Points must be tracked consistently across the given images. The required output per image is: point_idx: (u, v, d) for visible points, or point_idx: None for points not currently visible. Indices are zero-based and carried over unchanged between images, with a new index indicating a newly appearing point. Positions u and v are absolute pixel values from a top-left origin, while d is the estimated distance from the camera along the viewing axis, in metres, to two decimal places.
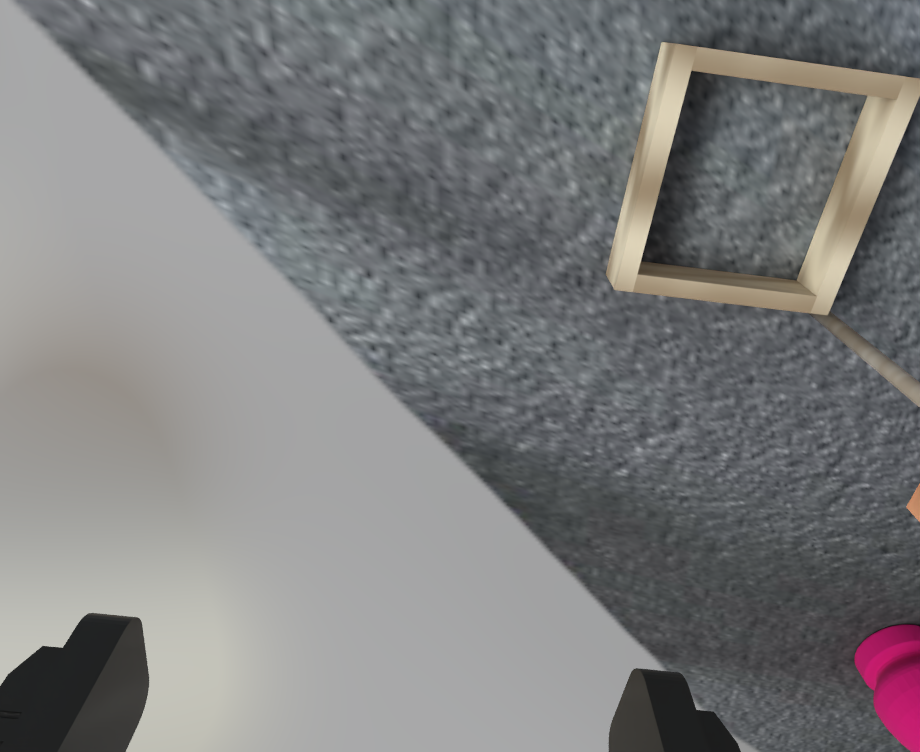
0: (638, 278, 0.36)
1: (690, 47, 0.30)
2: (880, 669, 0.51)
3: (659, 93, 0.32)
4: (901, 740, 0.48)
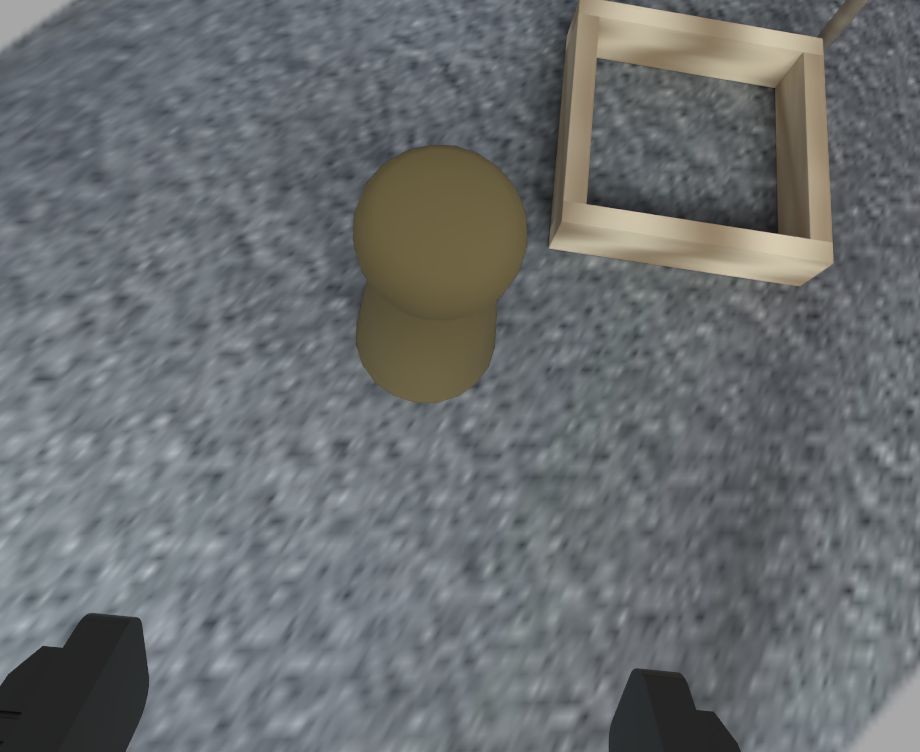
0: (814, 236, 0.29)
1: (564, 207, 0.28)
2: None
3: (606, 237, 0.29)
4: None
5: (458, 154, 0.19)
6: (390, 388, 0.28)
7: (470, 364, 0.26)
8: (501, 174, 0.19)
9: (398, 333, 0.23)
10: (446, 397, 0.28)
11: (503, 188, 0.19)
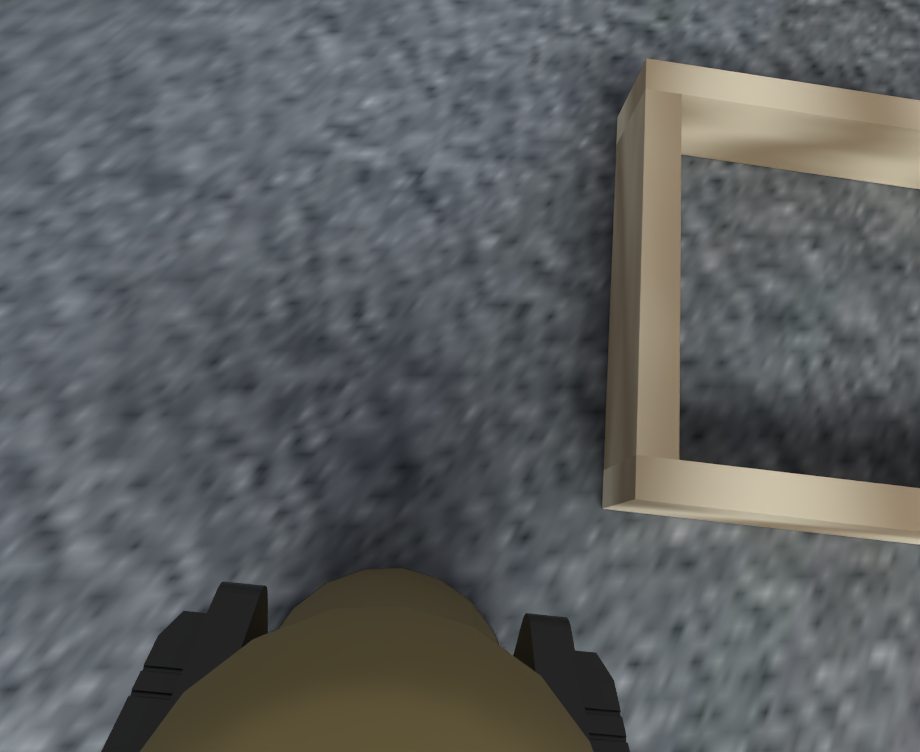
0: None
1: (639, 468, 0.15)
2: None
3: (714, 512, 0.16)
4: None
5: (411, 722, 0.06)
6: None
7: None
8: None
9: None
10: None
11: None
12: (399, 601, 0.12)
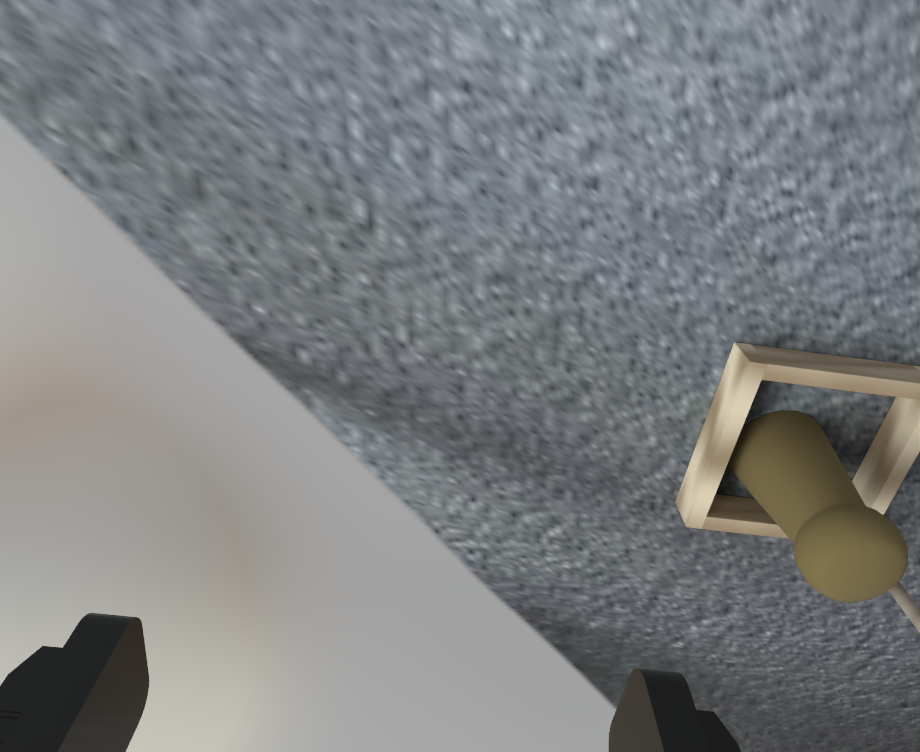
0: (707, 519, 0.42)
1: (762, 364, 0.37)
2: None
3: (733, 389, 0.39)
4: None
5: (895, 581, 0.34)
6: (745, 434, 0.42)
7: (753, 495, 0.41)
8: None
9: (788, 490, 0.37)
10: (730, 462, 0.43)
11: (867, 598, 0.34)
12: None
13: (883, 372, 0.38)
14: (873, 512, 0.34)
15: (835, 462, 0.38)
